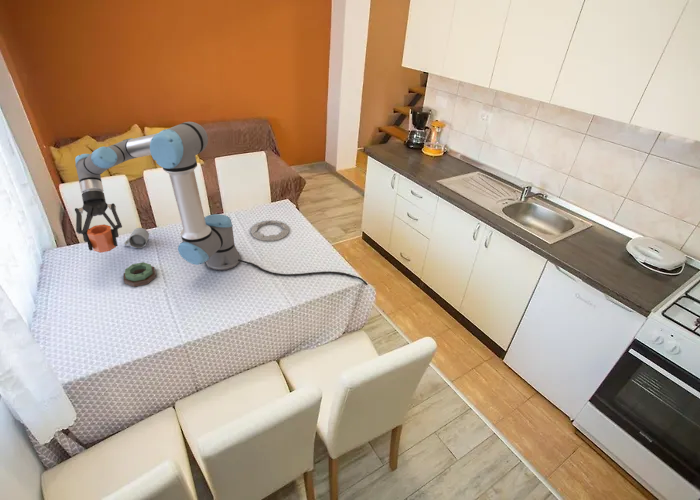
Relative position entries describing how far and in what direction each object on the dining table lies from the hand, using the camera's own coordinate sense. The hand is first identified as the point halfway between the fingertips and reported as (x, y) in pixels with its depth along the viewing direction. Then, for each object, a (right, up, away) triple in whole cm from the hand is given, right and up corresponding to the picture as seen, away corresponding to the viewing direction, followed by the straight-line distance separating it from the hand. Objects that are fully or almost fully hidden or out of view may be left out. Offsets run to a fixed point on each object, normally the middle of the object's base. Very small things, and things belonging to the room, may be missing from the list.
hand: (103, 247), depth 149 cm
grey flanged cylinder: (-5, +2, +33) cm, 34 cm away
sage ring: (+7, -11, +13) cm, 18 cm away
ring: (+55, +9, +51) cm, 76 cm away
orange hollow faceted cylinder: (-2, 0, +4) cm, 4 cm away
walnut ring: (+7, -13, +14) cm, 20 cm away
